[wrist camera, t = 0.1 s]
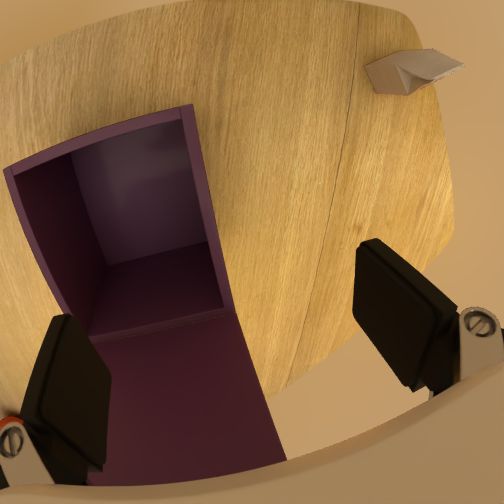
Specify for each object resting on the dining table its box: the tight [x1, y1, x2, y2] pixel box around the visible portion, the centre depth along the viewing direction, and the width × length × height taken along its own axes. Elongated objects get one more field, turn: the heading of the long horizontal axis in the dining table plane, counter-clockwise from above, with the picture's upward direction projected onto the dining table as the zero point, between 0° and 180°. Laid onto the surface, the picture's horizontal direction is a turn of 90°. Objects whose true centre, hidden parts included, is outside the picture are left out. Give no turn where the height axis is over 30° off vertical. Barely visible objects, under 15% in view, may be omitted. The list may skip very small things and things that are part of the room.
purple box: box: [3, 104, 236, 343], centre depth 24 cm, size 16×14×13 cm
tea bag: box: [364, 49, 464, 96], centre depth 25 cm, size 4×7×10 cm, turn 121°
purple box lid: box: [87, 313, 287, 486], centre depth 15 cm, size 16×14×1 cm
